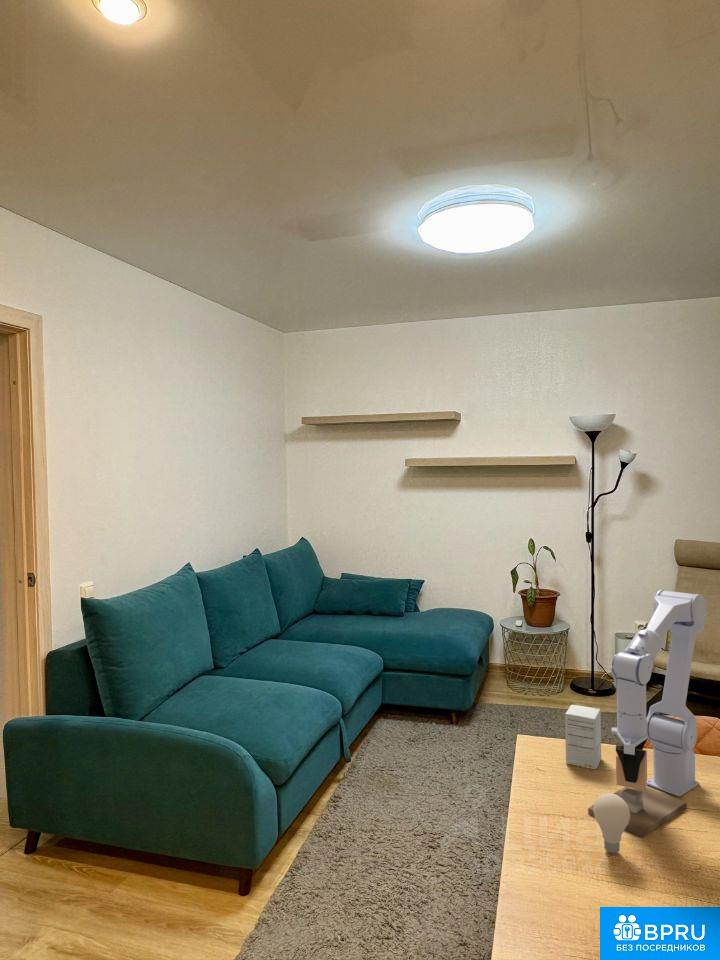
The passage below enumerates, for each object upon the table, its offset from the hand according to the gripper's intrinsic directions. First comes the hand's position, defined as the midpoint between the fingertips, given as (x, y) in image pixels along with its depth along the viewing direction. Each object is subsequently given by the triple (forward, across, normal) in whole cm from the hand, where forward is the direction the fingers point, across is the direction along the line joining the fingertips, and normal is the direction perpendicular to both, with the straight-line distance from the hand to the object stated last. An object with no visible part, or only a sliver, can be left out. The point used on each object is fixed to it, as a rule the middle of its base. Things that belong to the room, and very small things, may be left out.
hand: (632, 775), depth 141 cm
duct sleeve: (+1, 0, 0) cm, 1 cm away
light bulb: (+8, +17, -2) cm, 19 cm away
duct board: (+8, -2, +1) cm, 8 cm away
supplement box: (+8, -22, -13) cm, 27 cm away
